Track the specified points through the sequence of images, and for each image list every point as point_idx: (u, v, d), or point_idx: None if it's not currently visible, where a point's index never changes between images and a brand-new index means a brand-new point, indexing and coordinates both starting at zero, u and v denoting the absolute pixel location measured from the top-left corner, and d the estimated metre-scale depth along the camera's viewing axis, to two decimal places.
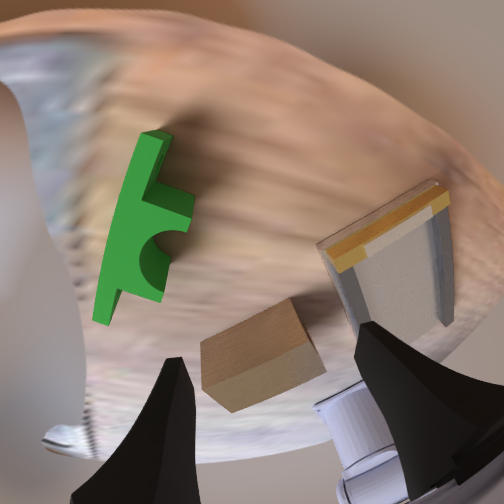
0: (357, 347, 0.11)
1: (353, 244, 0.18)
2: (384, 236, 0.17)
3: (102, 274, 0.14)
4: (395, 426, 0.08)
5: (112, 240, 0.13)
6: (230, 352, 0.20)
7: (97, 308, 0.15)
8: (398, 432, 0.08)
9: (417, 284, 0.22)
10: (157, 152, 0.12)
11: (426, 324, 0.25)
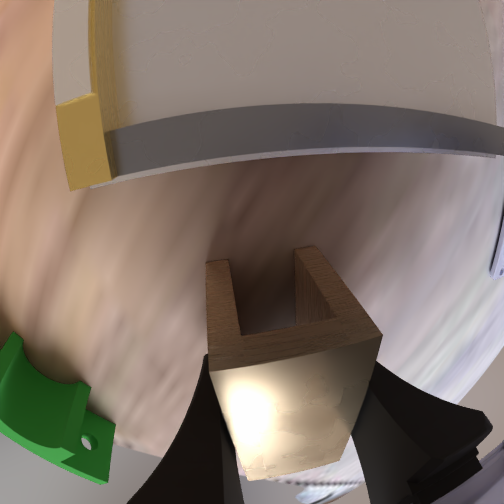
0: None
1: None
2: (59, 44, 0.04)
3: (46, 459, 0.09)
4: (358, 440, 0.08)
5: (13, 439, 0.08)
6: None
7: (85, 477, 0.10)
8: (361, 447, 0.08)
9: None
10: None
11: None
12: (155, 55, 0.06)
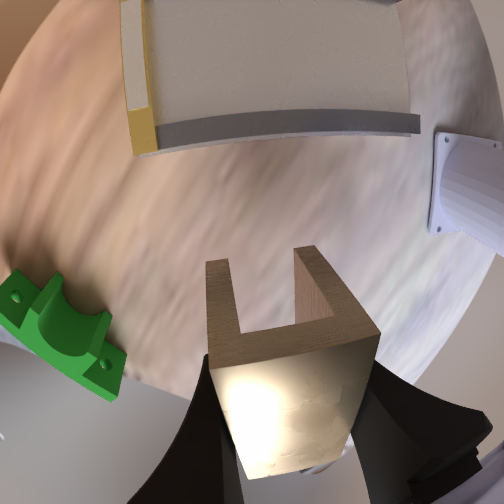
0: None
1: None
2: (128, 77, 0.10)
3: (70, 376, 0.15)
4: (358, 440, 0.08)
5: (45, 358, 0.14)
6: None
7: (99, 394, 0.16)
8: (361, 447, 0.08)
9: (284, 18, 0.11)
10: None
11: (384, 23, 0.12)
12: (178, 85, 0.12)
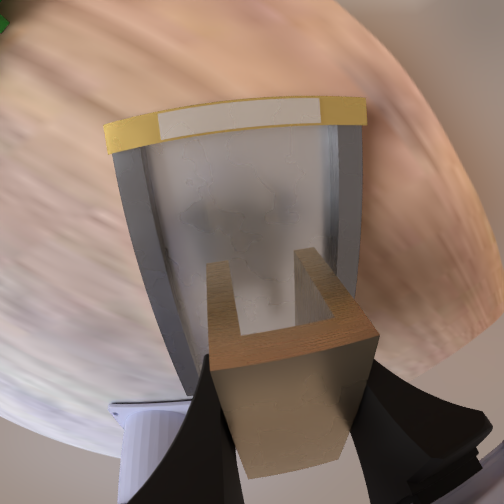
0: None
1: None
2: (202, 111, 0.09)
3: None
4: (358, 440, 0.08)
5: None
6: None
7: None
8: (361, 447, 0.08)
9: (281, 269, 0.15)
10: None
11: None
12: (193, 163, 0.12)
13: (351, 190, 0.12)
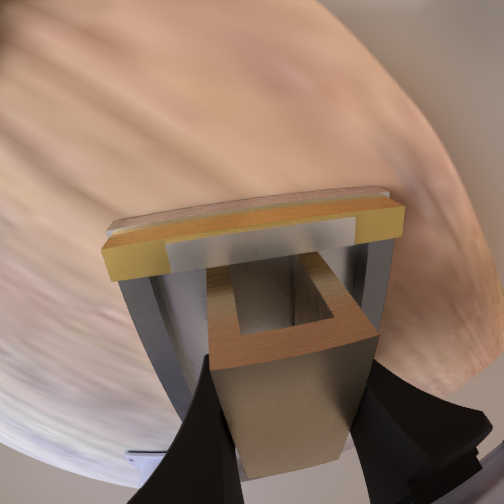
0: None
1: (152, 235, 0.09)
2: (219, 241, 0.09)
3: None
4: (358, 440, 0.08)
5: None
6: None
7: None
8: (361, 447, 0.08)
9: None
10: None
11: None
12: None
13: (374, 297, 0.11)
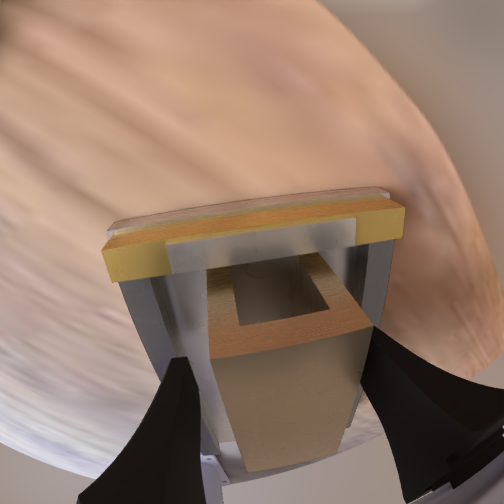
0: None
1: (153, 236, 0.09)
2: (219, 242, 0.09)
3: None
4: (390, 428, 0.08)
5: None
6: None
7: None
8: (393, 434, 0.08)
9: None
10: None
11: None
12: None
13: (375, 298, 0.11)
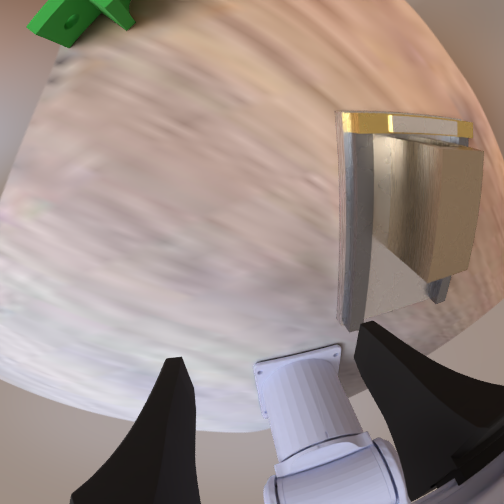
0: (357, 347, 0.11)
1: (379, 113, 0.14)
2: (412, 119, 0.14)
3: None
4: (395, 426, 0.08)
5: None
6: (411, 229, 0.16)
7: (41, 12, 0.07)
8: (398, 432, 0.08)
9: None
10: None
11: (417, 291, 0.22)
12: (390, 149, 0.16)
13: None
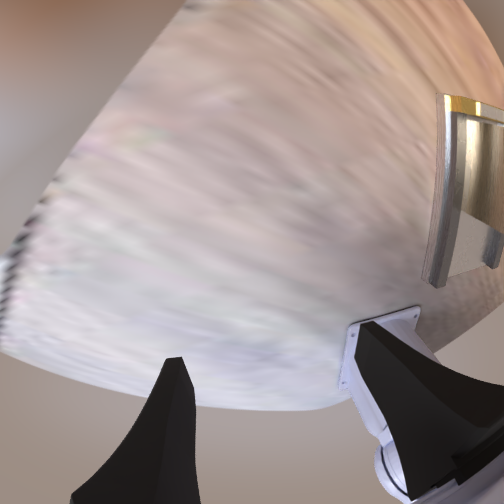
0: (357, 347, 0.11)
1: None
2: (490, 108, 0.14)
3: None
4: (395, 426, 0.08)
5: None
6: (491, 193, 0.16)
7: None
8: (398, 432, 0.08)
9: None
10: None
11: (479, 256, 0.22)
12: (471, 130, 0.16)
13: None
